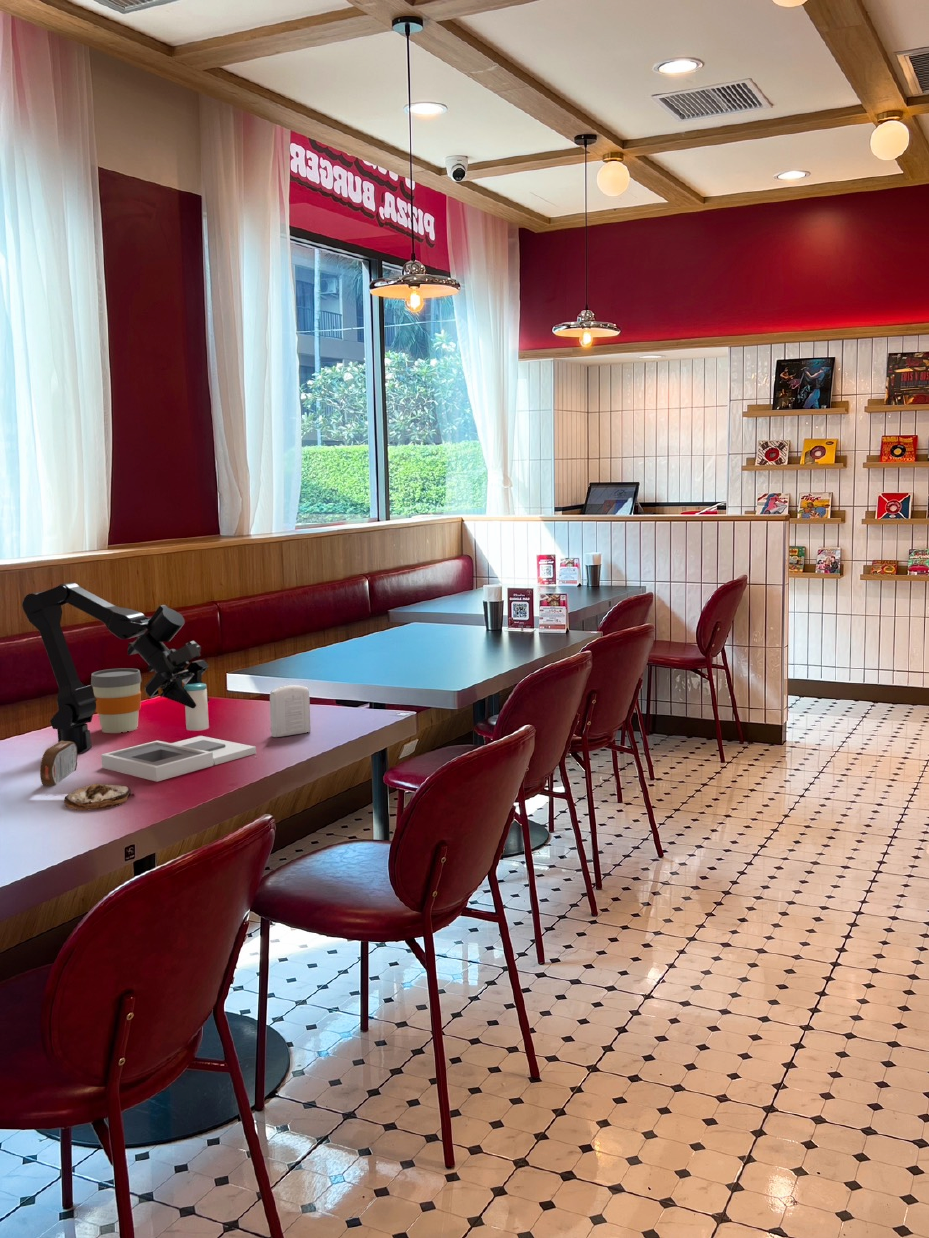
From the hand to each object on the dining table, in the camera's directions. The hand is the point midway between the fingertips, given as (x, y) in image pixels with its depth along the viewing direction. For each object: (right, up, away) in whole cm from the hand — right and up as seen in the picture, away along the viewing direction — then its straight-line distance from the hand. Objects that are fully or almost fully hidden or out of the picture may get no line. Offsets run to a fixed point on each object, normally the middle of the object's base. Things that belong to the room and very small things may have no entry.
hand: (201, 704), depth 253 cm
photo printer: (+17, -10, +25) cm, 31 cm away
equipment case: (-4, -13, -2) cm, 14 cm away
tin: (-27, -16, -13) cm, 34 cm away
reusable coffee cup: (-30, -9, +35) cm, 47 cm away
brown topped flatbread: (-14, -18, -28) cm, 36 cm away
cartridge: (-1, -5, +1) cm, 6 cm away
